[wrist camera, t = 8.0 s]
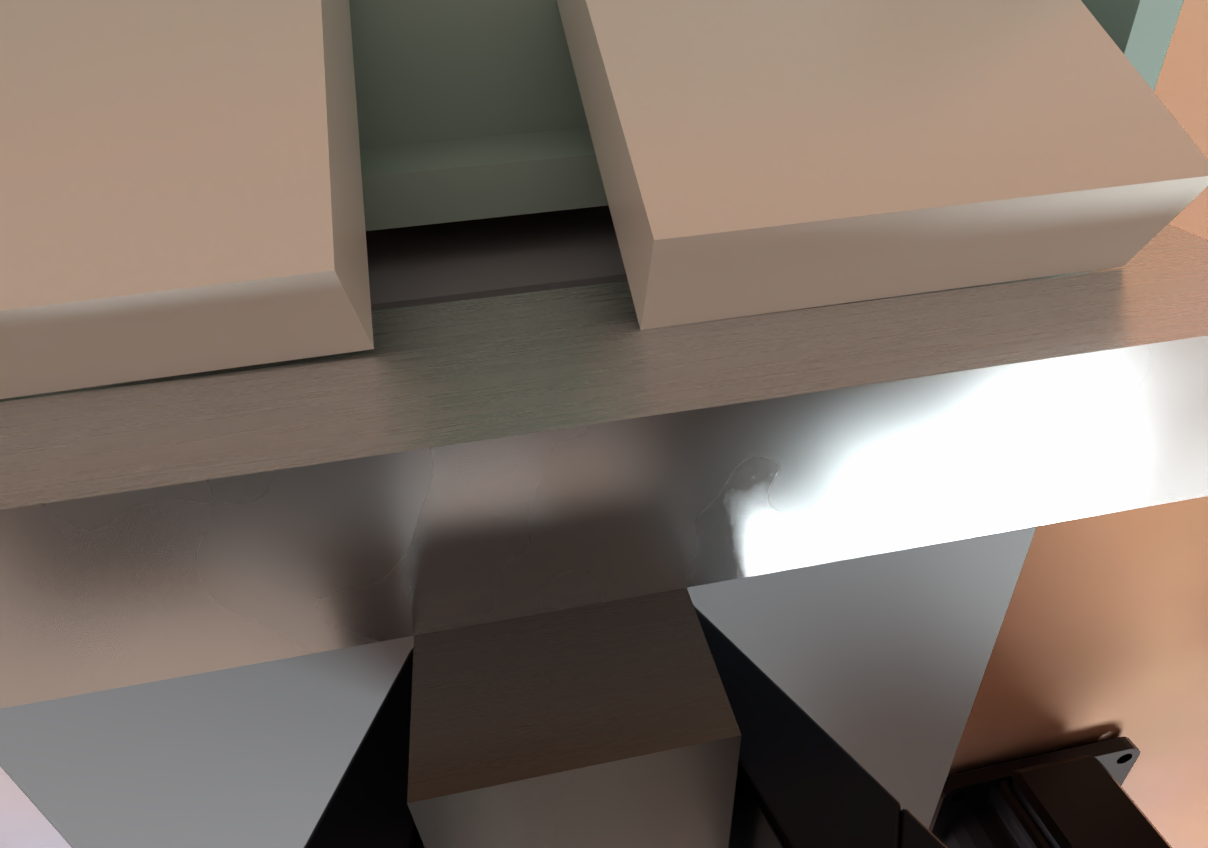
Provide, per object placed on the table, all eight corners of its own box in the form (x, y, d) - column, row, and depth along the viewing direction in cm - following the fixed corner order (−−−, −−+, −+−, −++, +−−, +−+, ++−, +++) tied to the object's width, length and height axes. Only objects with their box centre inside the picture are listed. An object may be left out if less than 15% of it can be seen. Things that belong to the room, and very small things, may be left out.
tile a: (1122, 266, 7) (1219, 173, 6) (640, 329, 7) (654, 240, 5) (930, -27, 9) (975, -131, 8) (556, 0, 9) (554, -109, 8)
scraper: (975, 652, 13) (1154, 894, 10) (87, 827, 11) (-61, 1201, 8) (1151, 217, 8) (1606, 402, 5) (-326, 394, 6) (-1112, 866, 3)
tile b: (374, 348, 6) (334, 271, 5) (-251, 433, 6) (-444, 363, 5) (348, -23, 8) (314, -138, 7) (-126, 11, 8) (-241, -107, 7)
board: (856, 754, 20) (915, 866, 17) (261, 881, 18) (231, 1028, 15) (994, 160, 11) (1149, 211, 9) (-123, 278, 9) (-333, 388, 7)
